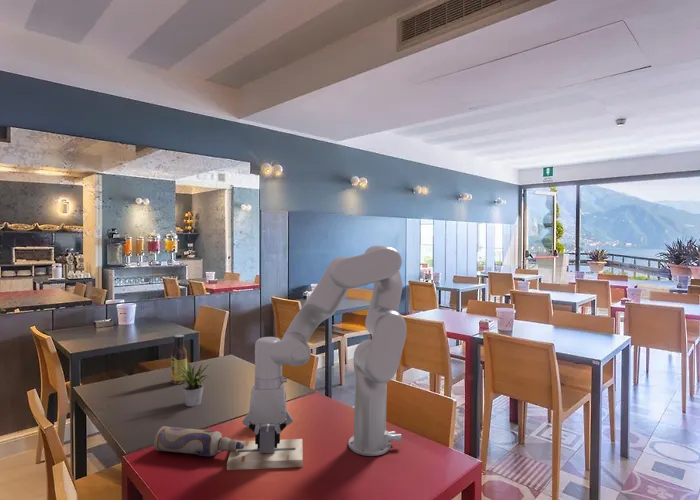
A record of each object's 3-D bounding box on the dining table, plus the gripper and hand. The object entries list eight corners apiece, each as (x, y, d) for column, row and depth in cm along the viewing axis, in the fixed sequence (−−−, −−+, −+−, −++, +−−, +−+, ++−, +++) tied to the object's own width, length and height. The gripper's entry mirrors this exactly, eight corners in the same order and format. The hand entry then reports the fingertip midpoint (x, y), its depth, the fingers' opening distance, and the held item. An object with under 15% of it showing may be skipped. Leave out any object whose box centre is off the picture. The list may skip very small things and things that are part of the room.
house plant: (160, 408, 155) (160, 363, 154) (183, 395, 168) (183, 353, 168) (195, 413, 152) (195, 367, 151) (216, 399, 165) (217, 356, 164)
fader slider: (275, 444, 125) (275, 423, 125) (274, 452, 121) (274, 431, 120) (261, 444, 125) (261, 423, 125) (259, 453, 120) (259, 431, 120)
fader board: (302, 445, 130) (302, 438, 130) (302, 466, 118) (302, 459, 118) (233, 448, 128) (233, 441, 128) (226, 470, 116) (226, 462, 116)
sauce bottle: (171, 380, 185) (171, 333, 184) (187, 379, 187) (187, 333, 186) (170, 385, 179) (170, 337, 178) (186, 384, 180) (186, 336, 180)
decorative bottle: (151, 456, 122) (151, 432, 122) (168, 443, 130) (167, 421, 129) (237, 464, 117) (237, 439, 117) (249, 450, 125) (248, 427, 124)
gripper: (298, 377, 127) (297, 438, 127) (239, 378, 125) (239, 441, 126) (298, 386, 119) (297, 451, 120) (235, 387, 117) (235, 454, 118)
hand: (267, 445), depth 123 cm, fingers closed on fader slider, 4 cm apart
